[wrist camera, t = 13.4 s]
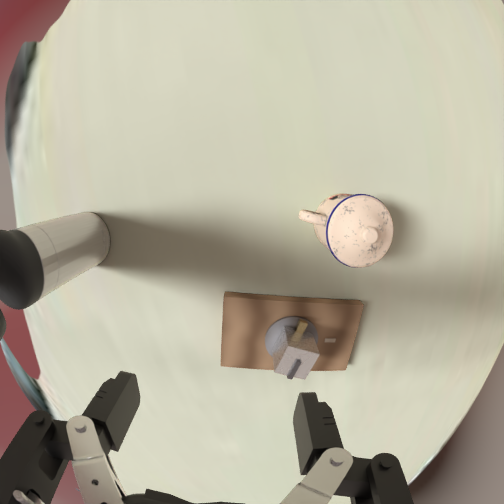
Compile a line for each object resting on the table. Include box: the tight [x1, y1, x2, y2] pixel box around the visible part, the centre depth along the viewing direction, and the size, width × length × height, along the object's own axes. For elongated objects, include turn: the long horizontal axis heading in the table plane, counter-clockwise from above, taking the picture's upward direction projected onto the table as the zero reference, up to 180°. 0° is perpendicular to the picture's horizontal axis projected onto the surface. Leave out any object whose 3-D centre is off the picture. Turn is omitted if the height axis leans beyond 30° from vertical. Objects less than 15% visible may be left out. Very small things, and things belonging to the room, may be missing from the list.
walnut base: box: [221, 292, 364, 371], centre depth 43 cm, size 22×13×3 cm, turn 85°
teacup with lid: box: [299, 194, 394, 268], centre depth 34 cm, size 12×9×12 cm
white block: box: [272, 319, 320, 379], centre depth 38 cm, size 8×5×6 cm, turn 160°
